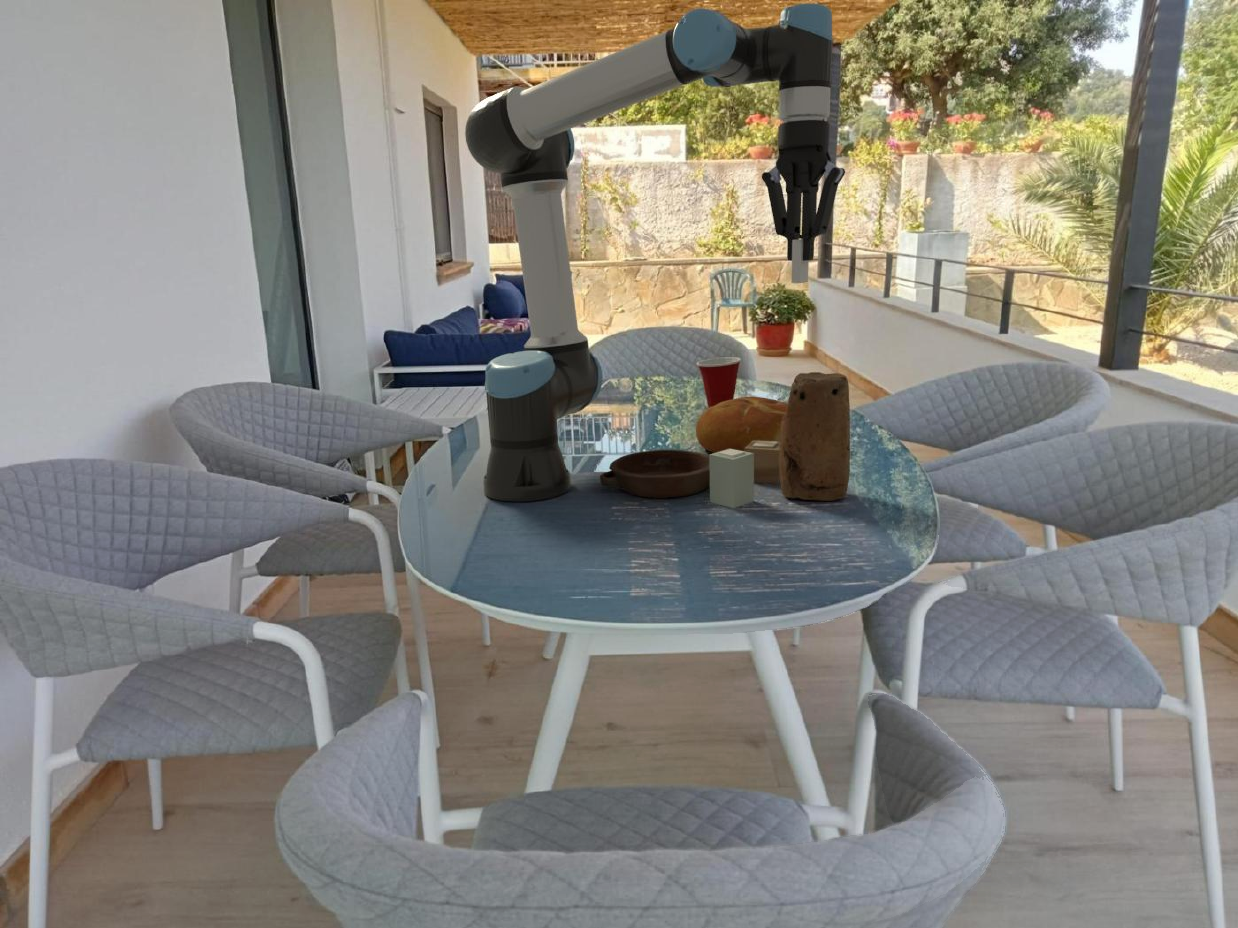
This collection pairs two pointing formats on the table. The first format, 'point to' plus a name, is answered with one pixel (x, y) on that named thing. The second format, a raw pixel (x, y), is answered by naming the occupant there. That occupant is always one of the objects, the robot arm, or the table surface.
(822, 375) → the brown pitted rock
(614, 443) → the table surface
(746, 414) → the bread
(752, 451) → the walnut cube
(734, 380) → the plastic cup
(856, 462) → the table surface
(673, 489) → the dish
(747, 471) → the grey-green post
